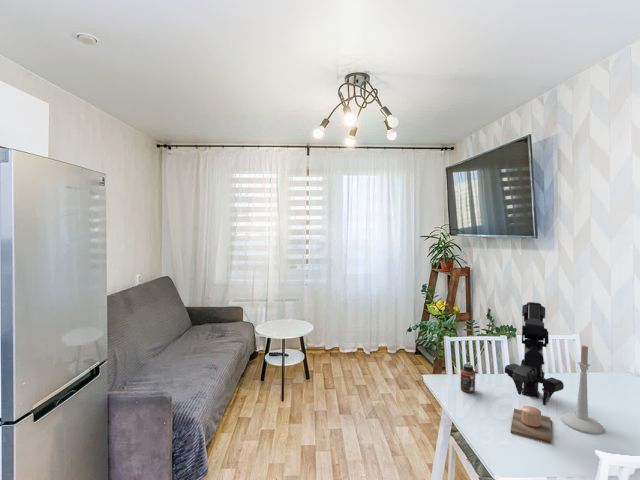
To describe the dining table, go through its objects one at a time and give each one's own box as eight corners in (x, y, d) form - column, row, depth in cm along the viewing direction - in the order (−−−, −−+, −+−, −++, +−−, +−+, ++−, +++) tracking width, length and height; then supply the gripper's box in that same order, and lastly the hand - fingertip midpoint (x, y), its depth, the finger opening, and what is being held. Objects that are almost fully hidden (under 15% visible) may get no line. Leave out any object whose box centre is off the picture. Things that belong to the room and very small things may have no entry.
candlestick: (568, 430, 129) (572, 348, 128) (555, 413, 141) (558, 338, 140) (610, 436, 125) (614, 352, 124) (593, 418, 138) (596, 341, 137)
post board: (514, 410, 142) (514, 397, 142) (549, 419, 136) (550, 405, 136) (510, 432, 127) (510, 417, 127) (550, 443, 121) (551, 427, 121)
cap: (521, 415, 136) (522, 404, 136) (540, 420, 133) (541, 408, 133) (520, 423, 131) (521, 411, 131) (540, 428, 127) (541, 416, 127)
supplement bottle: (476, 393, 157) (476, 368, 156) (461, 392, 158) (462, 367, 157) (473, 387, 163) (473, 363, 162) (459, 386, 164) (459, 362, 163)
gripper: (495, 353, 135) (494, 393, 136) (546, 371, 119) (544, 417, 119) (514, 348, 140) (513, 387, 141) (565, 365, 124) (563, 409, 124)
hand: (531, 399), depth 131 cm, fingers open, 9 cm apart
